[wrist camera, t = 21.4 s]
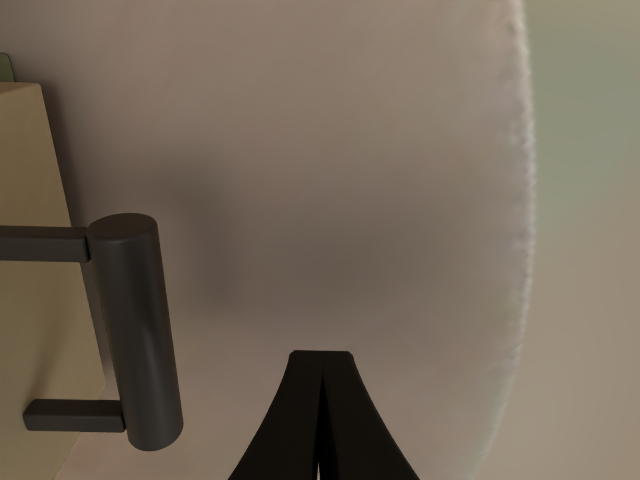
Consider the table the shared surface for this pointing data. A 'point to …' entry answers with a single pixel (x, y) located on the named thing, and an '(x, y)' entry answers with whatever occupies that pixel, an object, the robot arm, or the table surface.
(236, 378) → the table surface
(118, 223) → the drawer
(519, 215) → the table surface
